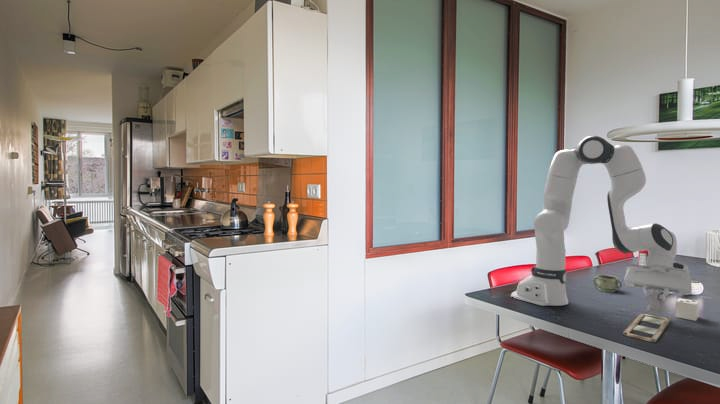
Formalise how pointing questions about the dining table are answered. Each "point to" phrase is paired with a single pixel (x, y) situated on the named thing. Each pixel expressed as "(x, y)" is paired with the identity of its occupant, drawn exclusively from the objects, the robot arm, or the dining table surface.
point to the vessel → (607, 283)
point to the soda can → (642, 257)
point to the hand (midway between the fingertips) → (654, 298)
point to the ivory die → (687, 309)
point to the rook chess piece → (654, 302)
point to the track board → (650, 319)
